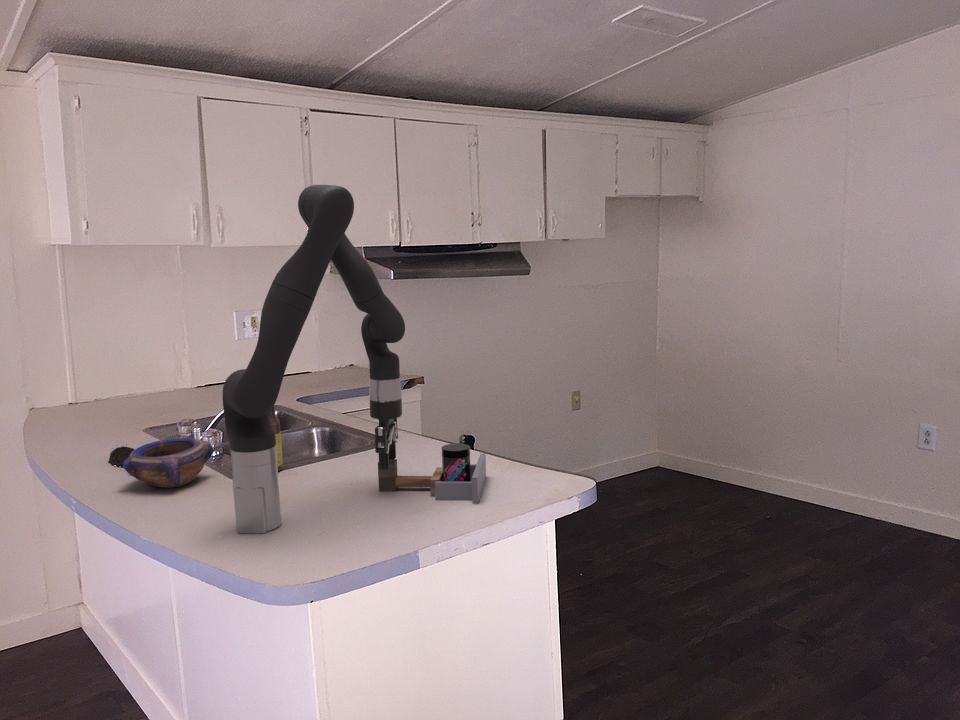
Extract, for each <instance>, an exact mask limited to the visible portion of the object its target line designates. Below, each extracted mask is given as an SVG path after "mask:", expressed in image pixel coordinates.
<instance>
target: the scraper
mask: <svg viewBox="0 0 960 720" xmlns="http://www.w3.org/2000/svg"><path fill="white" fill-rule="evenodd" d="M377 475H378V476H377V477H378V478H377V480H378V481H377V482H378V492H396V491H397V490H398V488H430V497H435V482H443V474H442V467H440V466H439V467H436V468H435V470H434V472H433V474H432V475H398V459H397V458H395V459H389V468H388V469H380V468H379V461H378V462H377Z"/></svg>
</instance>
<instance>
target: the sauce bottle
mask: <svg viewBox="0 0 960 720" xmlns="http://www.w3.org/2000/svg"><path fill="white" fill-rule="evenodd" d="M268 415H269V420H270V424H271V426H272V428H273V430H274V432H275V438H276V452H277V468H278V471H279V472H280V470H281V471H282V470H283V462H284V461H283V447H282V446H283V445H282V431H281V421H280V419H279V417H278V416H277V415H276V410H275V405H274V406H273V408H272V409H271V410H270V411H269V412H268Z"/></svg>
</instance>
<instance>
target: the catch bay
mask: <svg viewBox="0 0 960 720" xmlns="http://www.w3.org/2000/svg"><path fill="white" fill-rule="evenodd" d="M486 460H487V459H486V453H480V454H479V457H478V460H477V463H474V464H473V463H470V470H471V482H435V496H434V497H435V500H436V501H439V499H440V501H458V500H459V501H463V500H464V501H472V504H473V503H478V504H479V502H478V501H480V498H481V496H482V495H481V494H482V492H481V491H483V489H484V485H485V482H486V478H487V463H486ZM482 488H483V489H482ZM442 499H443V500H442ZM468 499H469V500H468ZM471 499H472V500H471Z"/></svg>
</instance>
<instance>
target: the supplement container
mask: <svg viewBox="0 0 960 720" xmlns="http://www.w3.org/2000/svg"><path fill="white" fill-rule="evenodd" d="M440 448H441V466H442V474H443V482H472V481H471V470H470V464H471V446H470V445H468V444H466V443H447V444H444V445H442V446H441V447H440Z"/></svg>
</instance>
